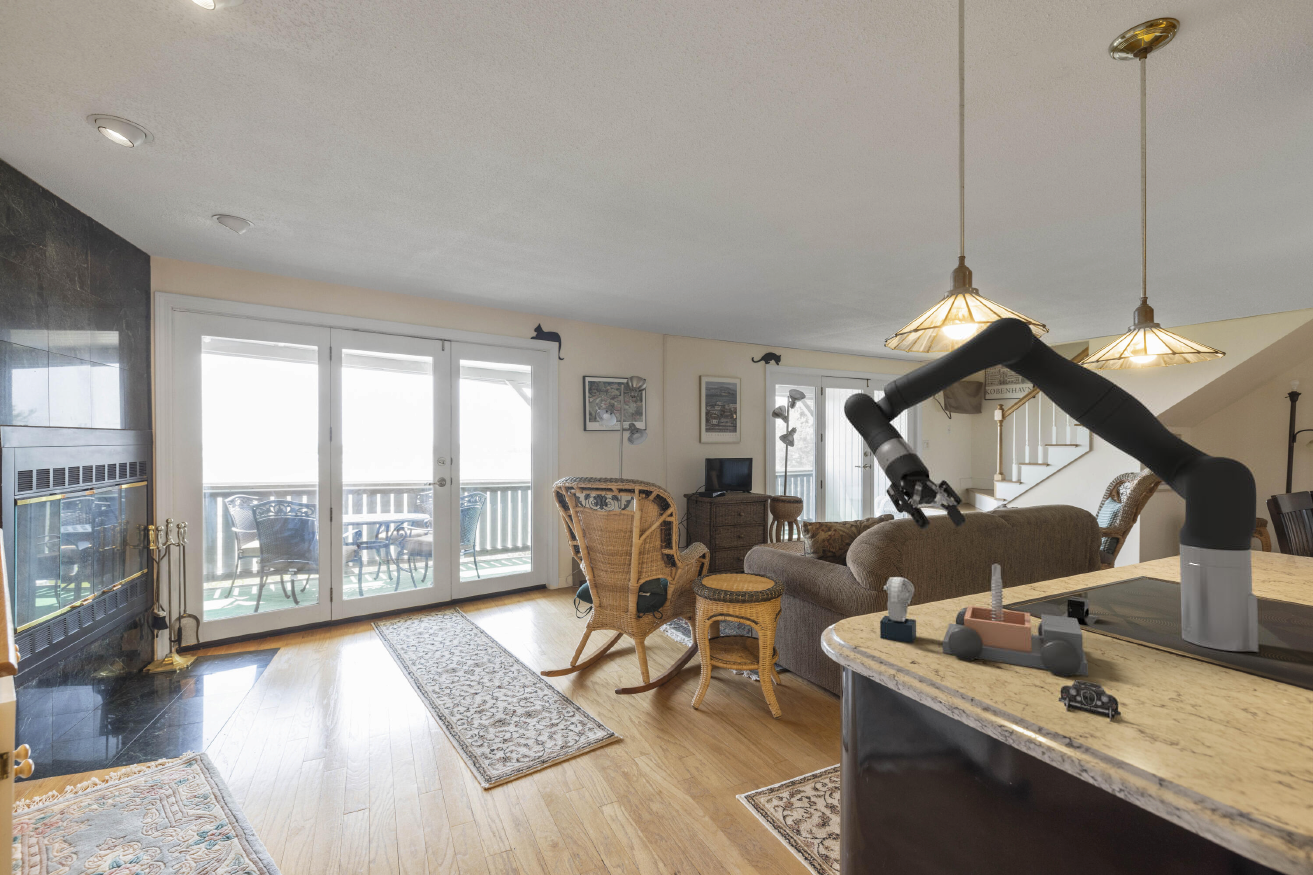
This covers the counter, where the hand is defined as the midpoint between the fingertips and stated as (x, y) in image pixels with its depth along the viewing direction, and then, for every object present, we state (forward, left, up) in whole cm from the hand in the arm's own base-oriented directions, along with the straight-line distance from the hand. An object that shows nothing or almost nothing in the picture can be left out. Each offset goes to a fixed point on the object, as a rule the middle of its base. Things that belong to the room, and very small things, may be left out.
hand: (944, 525), depth 112 cm
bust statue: (+7, +9, -20) cm, 23 cm away
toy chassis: (-11, +8, -20) cm, 24 cm away
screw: (-9, +7, -18) cm, 22 cm away
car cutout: (-24, +29, -21) cm, 43 cm away
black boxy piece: (-22, -23, -21) cm, 38 cm away
